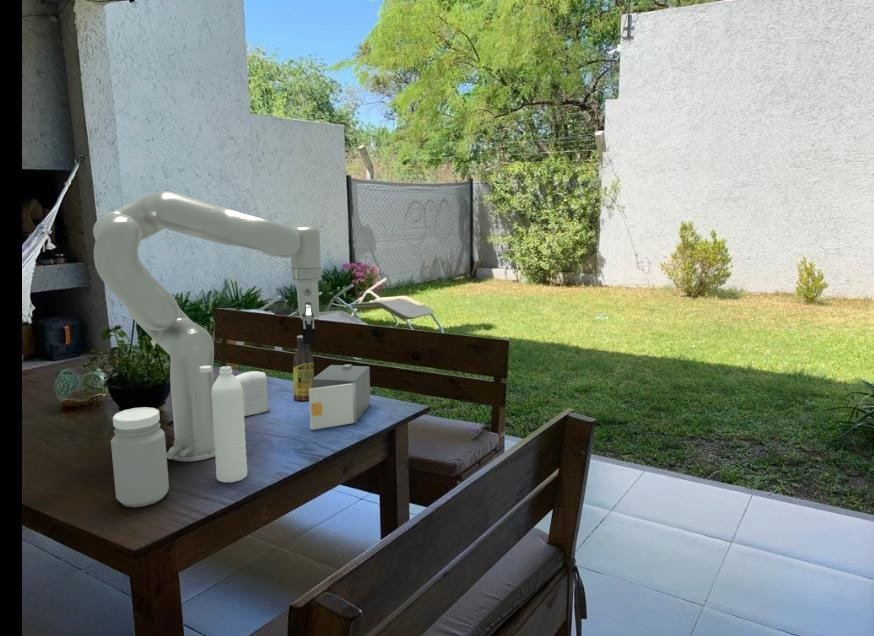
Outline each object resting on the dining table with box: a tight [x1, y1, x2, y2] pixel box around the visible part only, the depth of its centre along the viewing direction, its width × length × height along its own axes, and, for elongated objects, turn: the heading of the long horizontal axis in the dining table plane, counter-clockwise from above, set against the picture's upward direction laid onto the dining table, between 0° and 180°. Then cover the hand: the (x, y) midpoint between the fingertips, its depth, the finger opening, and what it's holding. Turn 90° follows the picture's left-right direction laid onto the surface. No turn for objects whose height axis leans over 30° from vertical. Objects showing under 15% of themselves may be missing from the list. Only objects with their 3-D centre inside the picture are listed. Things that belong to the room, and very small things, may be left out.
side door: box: [308, 383, 357, 430], centre depth 164 cm, size 2×13×11 cm, turn 116°
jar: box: [110, 406, 170, 508], centre depth 123 cm, size 10×10×18 cm
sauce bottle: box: [292, 334, 315, 402], centre depth 189 cm, size 7×6×20 cm
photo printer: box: [234, 370, 269, 417], centre depth 176 cm, size 10×4×12 cm, turn 134°
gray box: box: [312, 363, 371, 422], centre depth 177 cm, size 16×14×13 cm
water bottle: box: [200, 365, 248, 484], centre depth 133 cm, size 9×6×25 cm
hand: (308, 340), depth 162 cm, fingers open, 8 cm apart
